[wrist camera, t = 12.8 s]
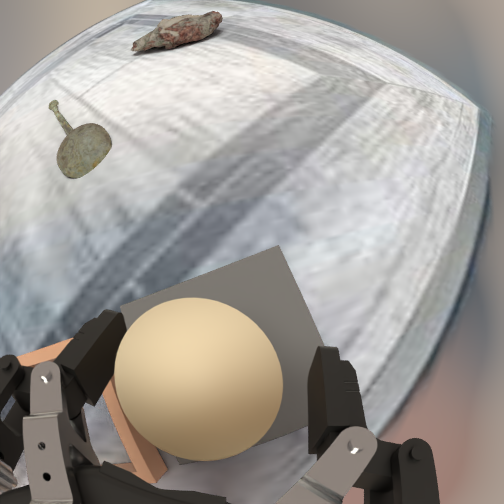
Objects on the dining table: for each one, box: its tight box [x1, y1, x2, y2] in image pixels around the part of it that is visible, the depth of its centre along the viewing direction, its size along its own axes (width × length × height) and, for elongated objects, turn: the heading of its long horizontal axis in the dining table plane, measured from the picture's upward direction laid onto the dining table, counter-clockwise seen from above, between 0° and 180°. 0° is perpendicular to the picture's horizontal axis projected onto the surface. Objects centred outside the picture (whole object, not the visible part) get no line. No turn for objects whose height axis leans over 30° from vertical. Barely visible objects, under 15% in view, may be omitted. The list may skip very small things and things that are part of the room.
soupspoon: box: [49, 100, 112, 178], centre depth 25 cm, size 22×3×7 cm
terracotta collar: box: [17, 338, 168, 483], centre depth 14 cm, size 11×11×2 cm
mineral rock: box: [131, 11, 223, 51], centre depth 31 cm, size 15×8×4 cm, turn 92°
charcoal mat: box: [120, 245, 324, 465], centre depth 16 cm, size 12×12×1 cm
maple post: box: [114, 298, 283, 461], centre depth 11 cm, size 5×5×10 cm
